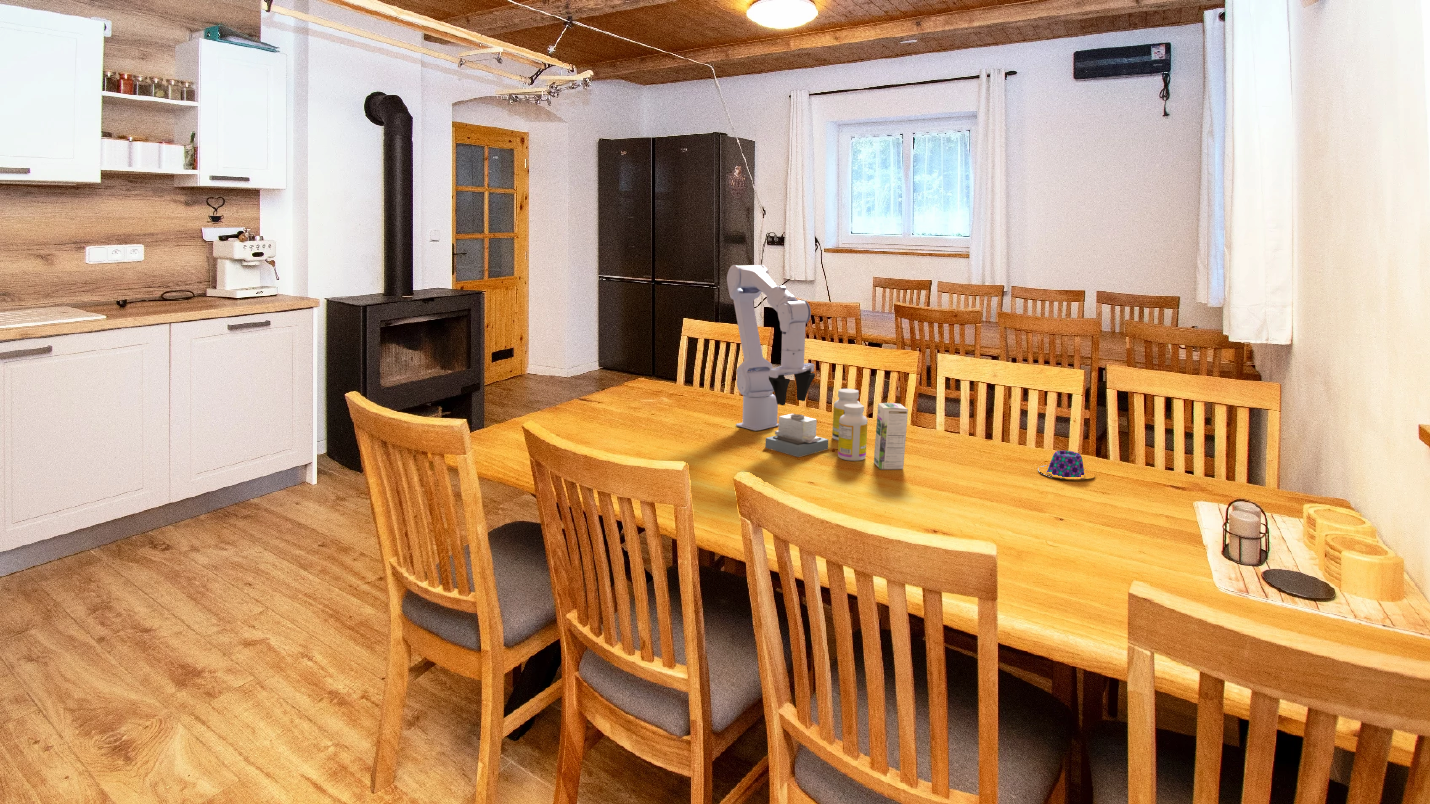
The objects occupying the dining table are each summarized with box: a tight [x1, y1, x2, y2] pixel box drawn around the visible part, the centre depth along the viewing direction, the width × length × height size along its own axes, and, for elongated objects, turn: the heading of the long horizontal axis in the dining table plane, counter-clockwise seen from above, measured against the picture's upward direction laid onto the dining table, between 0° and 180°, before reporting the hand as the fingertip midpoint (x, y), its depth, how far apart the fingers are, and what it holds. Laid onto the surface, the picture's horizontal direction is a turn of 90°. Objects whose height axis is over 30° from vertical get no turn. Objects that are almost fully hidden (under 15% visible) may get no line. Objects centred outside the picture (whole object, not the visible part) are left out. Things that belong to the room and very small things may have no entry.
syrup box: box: [873, 402, 909, 470], centre depth 194 cm, size 6×6×14 cm
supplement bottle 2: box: [837, 404, 868, 462], centre depth 200 cm, size 7×7×13 cm
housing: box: [774, 413, 820, 443], centre depth 208 cm, size 5×11×6 cm, turn 42°
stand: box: [764, 434, 829, 458], centre depth 209 cm, size 11×11×3 cm
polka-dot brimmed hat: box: [1037, 450, 1085, 478], centre depth 191 cm, size 12×12×5 cm
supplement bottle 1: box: [831, 388, 862, 441], centre depth 217 cm, size 7×7×13 cm
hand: (791, 402), depth 212 cm, fingers open, 7 cm apart
